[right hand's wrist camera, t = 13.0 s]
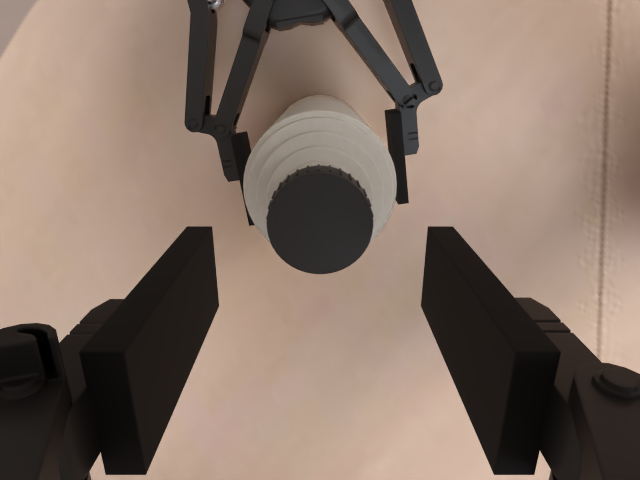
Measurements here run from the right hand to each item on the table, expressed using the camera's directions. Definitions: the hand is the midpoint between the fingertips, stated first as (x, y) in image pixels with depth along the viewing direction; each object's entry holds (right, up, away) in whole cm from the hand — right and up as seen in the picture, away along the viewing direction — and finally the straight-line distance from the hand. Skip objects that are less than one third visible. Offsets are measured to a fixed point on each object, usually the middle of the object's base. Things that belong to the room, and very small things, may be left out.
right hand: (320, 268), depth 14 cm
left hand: (+1, +3, +20) cm, 21 cm away
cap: (0, +2, +4) cm, 4 cm away
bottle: (0, +9, +25) cm, 26 cm away
